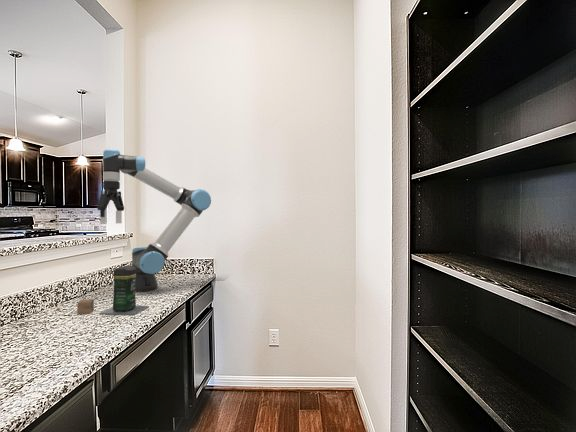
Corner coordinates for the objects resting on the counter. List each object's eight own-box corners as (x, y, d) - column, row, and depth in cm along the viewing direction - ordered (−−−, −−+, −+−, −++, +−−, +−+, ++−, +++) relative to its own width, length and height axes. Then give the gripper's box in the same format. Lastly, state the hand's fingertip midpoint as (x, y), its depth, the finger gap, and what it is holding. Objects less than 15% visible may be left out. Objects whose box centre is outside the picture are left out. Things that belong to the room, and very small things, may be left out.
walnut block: (80, 311, 155) (80, 299, 155) (93, 310, 157) (93, 299, 157) (77, 314, 150) (77, 302, 150) (90, 313, 152) (90, 301, 152)
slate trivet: (116, 306, 163) (116, 305, 163) (148, 307, 162) (148, 306, 162) (99, 314, 150) (99, 313, 150) (134, 315, 149) (134, 313, 149)
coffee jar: (128, 312, 152) (129, 267, 152) (110, 312, 152) (110, 267, 152) (138, 306, 161) (138, 264, 161) (120, 306, 161) (121, 264, 161)
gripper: (117, 183, 194) (117, 223, 194) (88, 178, 170) (88, 224, 170) (131, 183, 194) (131, 223, 194) (104, 178, 169) (104, 224, 169)
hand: (111, 223), depth 182 cm, fingers open, 13 cm apart
